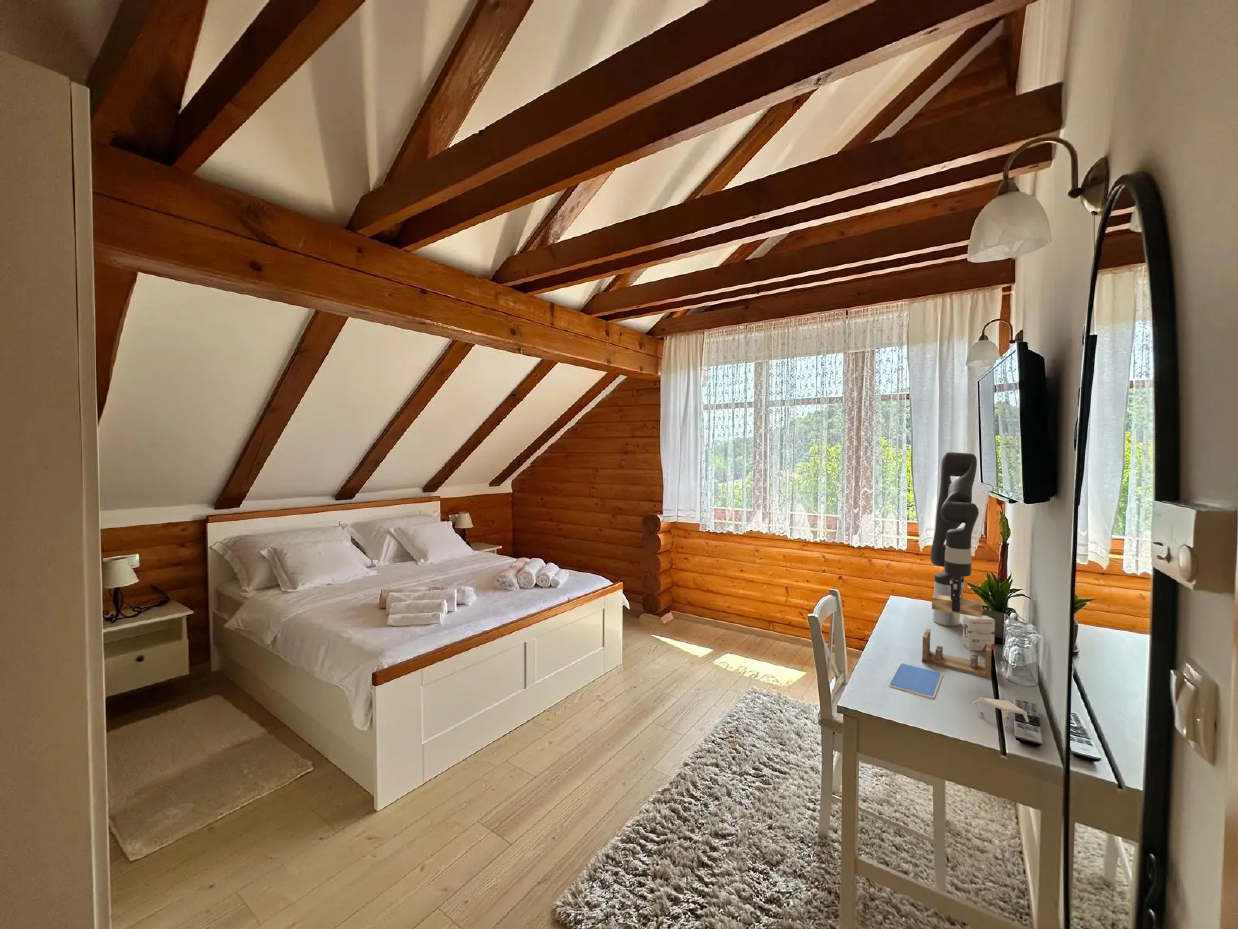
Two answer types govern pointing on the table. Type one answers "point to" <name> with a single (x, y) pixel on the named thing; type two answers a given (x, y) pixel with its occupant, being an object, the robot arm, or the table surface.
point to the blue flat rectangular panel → (916, 680)
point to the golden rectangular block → (965, 605)
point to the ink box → (978, 632)
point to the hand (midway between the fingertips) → (956, 609)
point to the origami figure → (1002, 707)
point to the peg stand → (956, 659)
